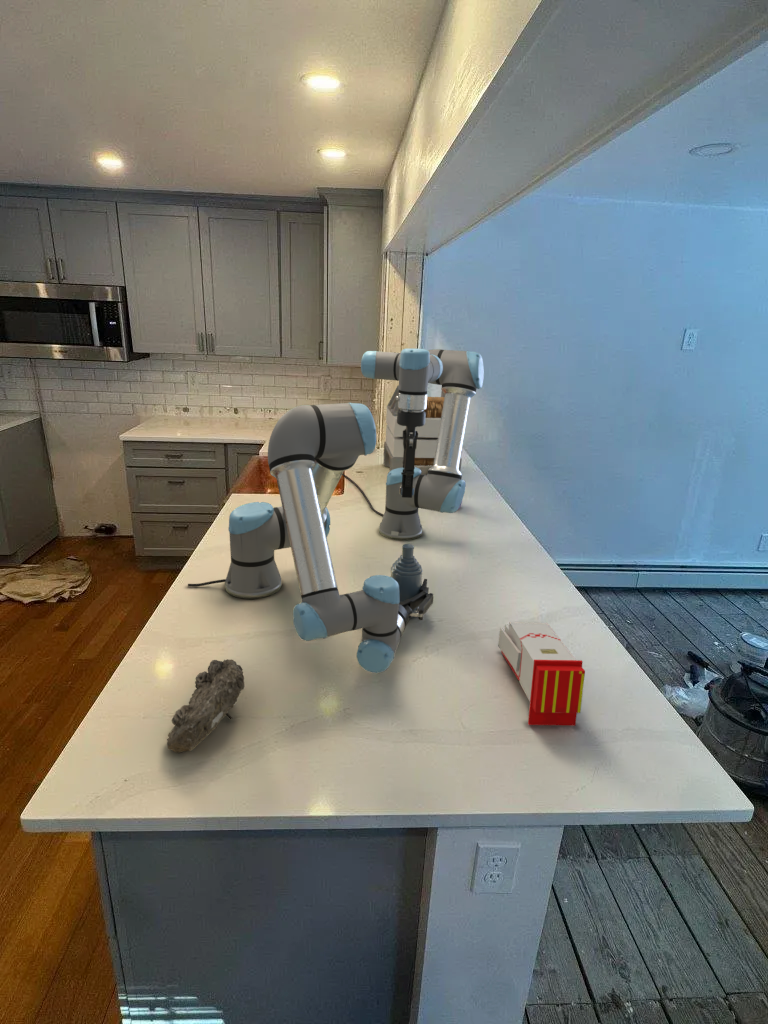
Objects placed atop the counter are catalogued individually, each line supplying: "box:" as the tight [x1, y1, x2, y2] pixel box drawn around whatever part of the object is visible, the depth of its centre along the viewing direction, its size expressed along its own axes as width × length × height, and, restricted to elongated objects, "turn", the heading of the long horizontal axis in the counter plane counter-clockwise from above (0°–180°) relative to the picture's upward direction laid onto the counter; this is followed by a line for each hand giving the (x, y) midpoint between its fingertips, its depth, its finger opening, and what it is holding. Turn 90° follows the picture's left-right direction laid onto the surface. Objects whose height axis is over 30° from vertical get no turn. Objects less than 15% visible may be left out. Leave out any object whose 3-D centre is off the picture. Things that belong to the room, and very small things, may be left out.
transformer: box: [383, 384, 463, 472], centre depth 268 cm, size 34×33×41 cm
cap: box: [399, 485, 414, 496], centre depth 156 cm, size 4×4×2 cm
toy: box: [497, 621, 586, 727], centre depth 121 cm, size 12×13×30 cm
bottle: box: [389, 543, 424, 619], centre depth 146 cm, size 8×8×18 cm
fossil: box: [166, 658, 245, 754], centre depth 106 cm, size 22×10×15 cm
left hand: (409, 581), depth 152 cm, fingers closed on bottle, 8 cm apart
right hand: (406, 494), depth 157 cm, fingers closed on cap, 4 cm apart
